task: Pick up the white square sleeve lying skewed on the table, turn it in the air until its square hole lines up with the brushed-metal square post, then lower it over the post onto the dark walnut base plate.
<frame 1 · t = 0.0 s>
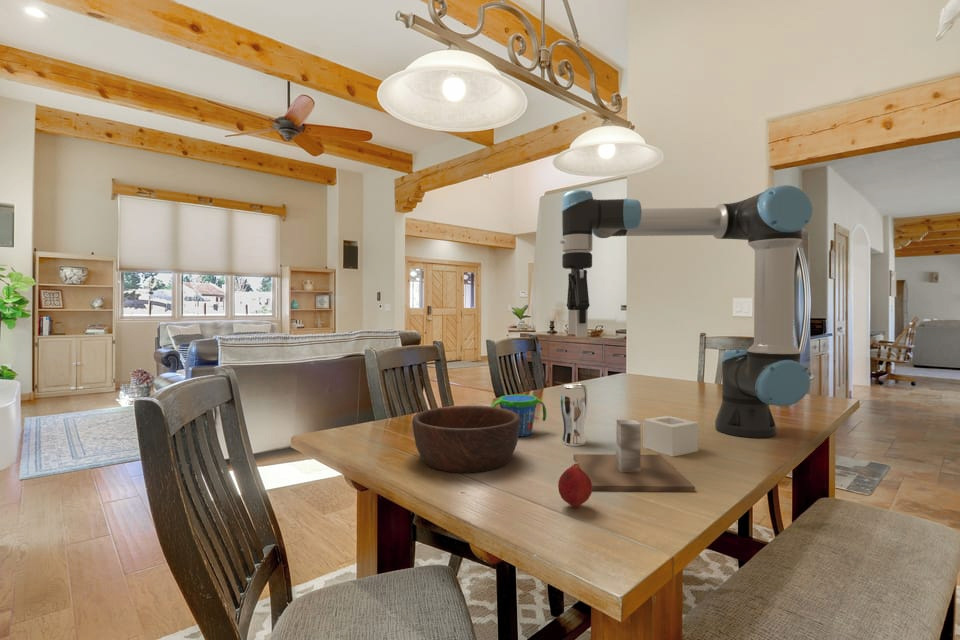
hand: (577, 335, 126), 28 cm above the table, fingers open, 13 cm apart
snack cup: (518, 434, 137), on the table
white square sleeve: (670, 449, 121), on the table
onion: (574, 508, 86), on the table
post base: (628, 473, 104), on the table
wooden bowl: (466, 460, 114), on the table
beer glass: (573, 443, 127), on the table
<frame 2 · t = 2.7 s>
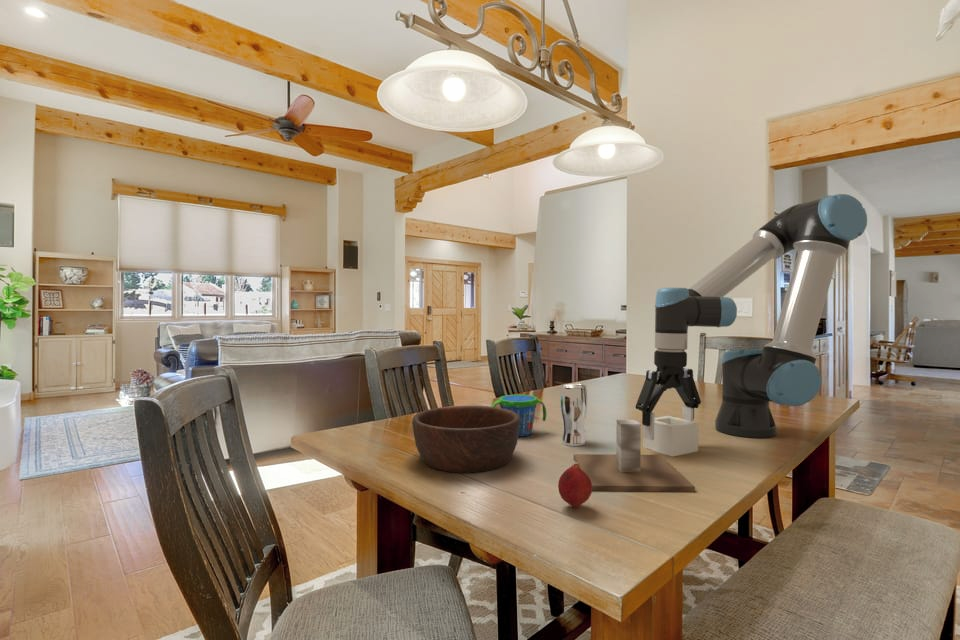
hand: (668, 436, 121), 3 cm above the table, fingers open, 13 cm apart
nothing on the table moved.
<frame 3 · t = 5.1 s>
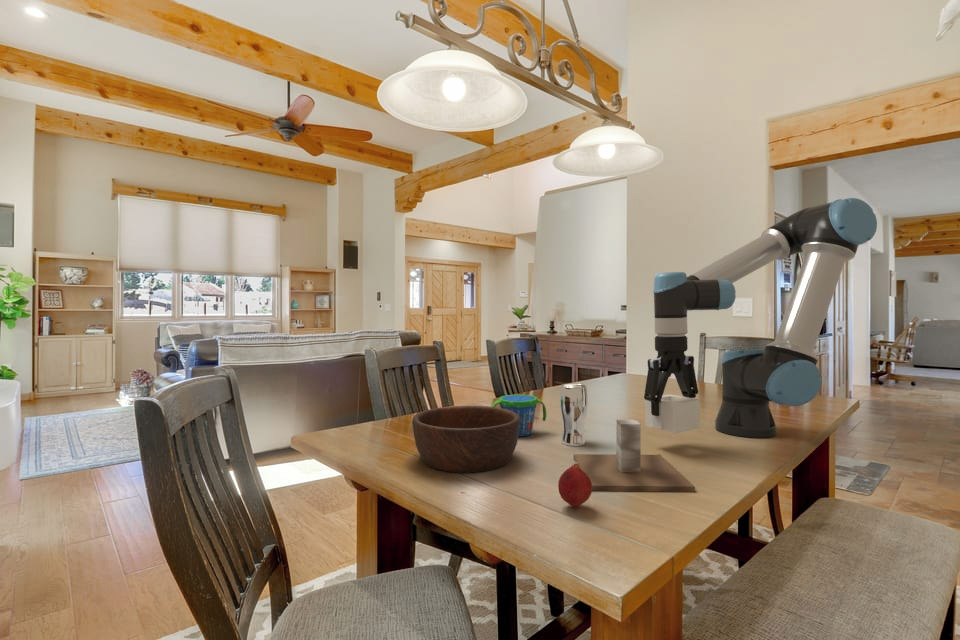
hand: (672, 425, 121), 6 cm above the table, fingers closed on white square sleeve, 9 cm apart
white square sleeve: (672, 426, 121), point 6 cm above the table, touching gripper
everything else where it was.
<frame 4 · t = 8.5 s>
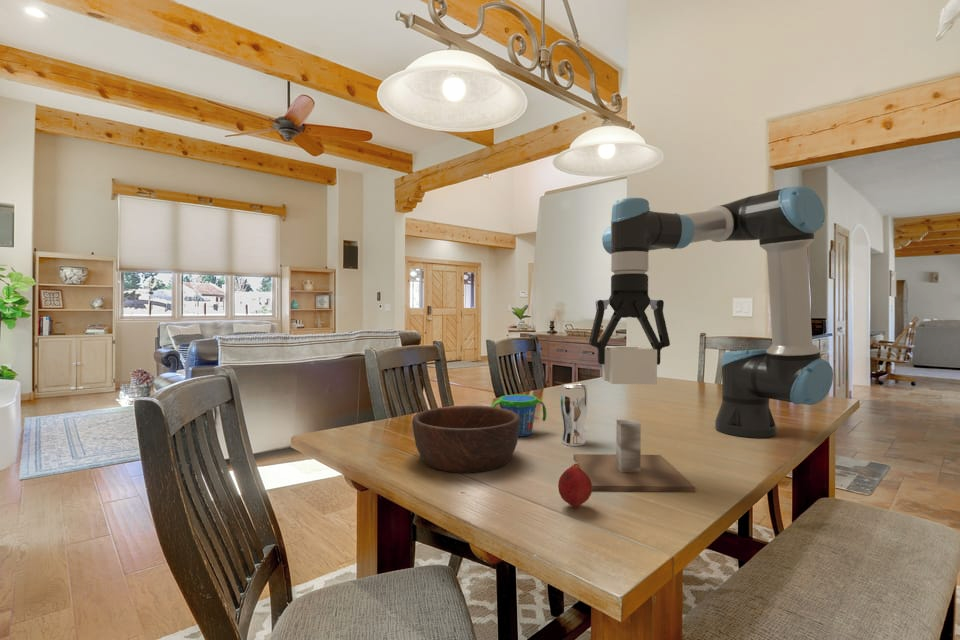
hand: (628, 379, 104), 20 cm above the table, fingers closed on white square sleeve, 9 cm apart
white square sleeve: (628, 380, 104), point 20 cm above the table, touching gripper
everything else where it was.
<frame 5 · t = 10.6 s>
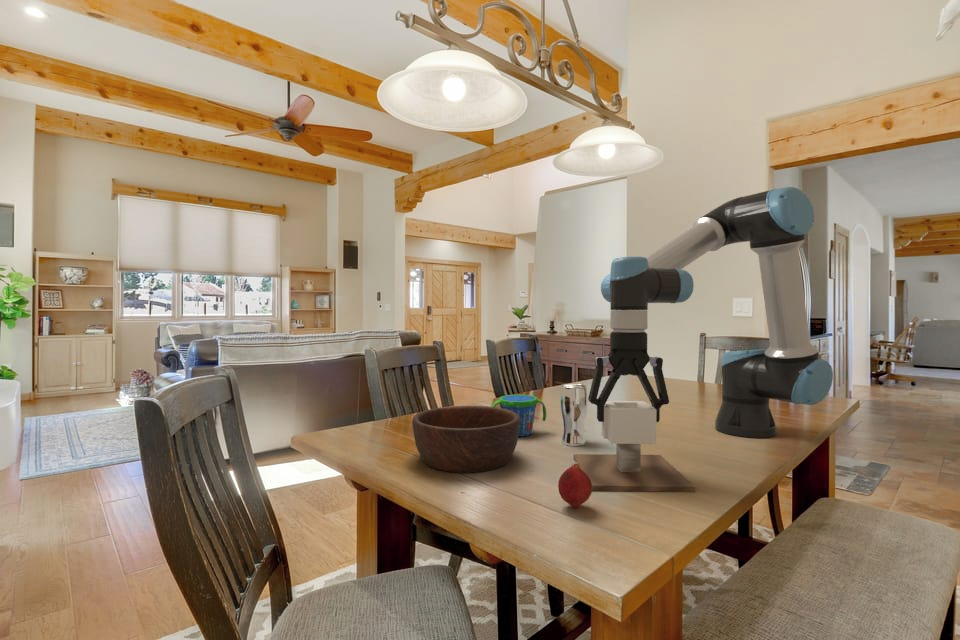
hand: (627, 436, 103), 8 cm above the table, fingers closed on white square sleeve, 9 cm apart
white square sleeve: (627, 437, 103), point 8 cm above the table, touching gripper
everything else where it was.
when the fingers open (2 cm above the table, at t = 12.2 s): white square sleeve drops 1 cm, resting on post base.
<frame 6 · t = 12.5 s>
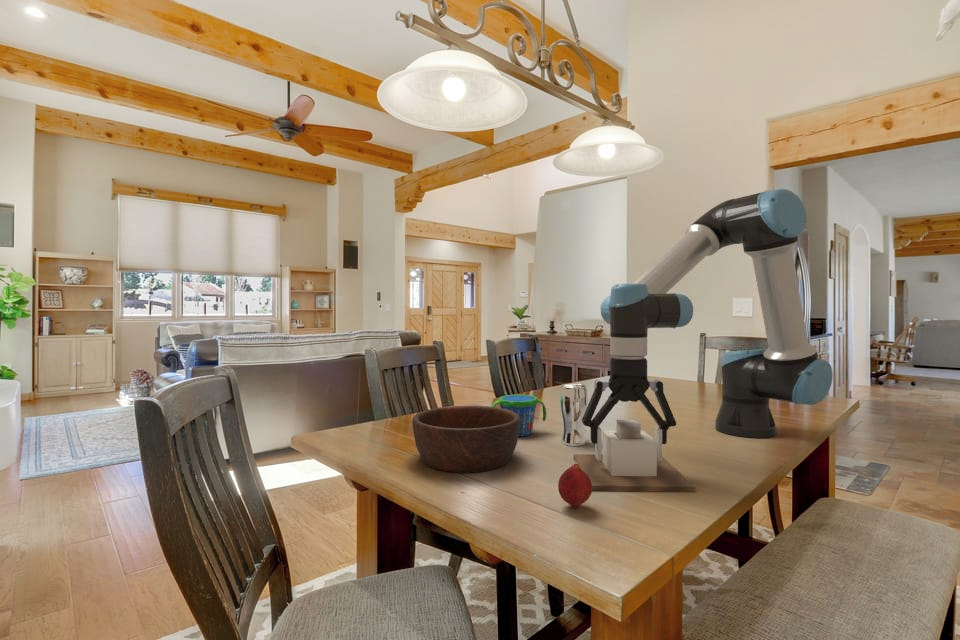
hand: (628, 458, 104), 3 cm above the table, fingers open, 12 cm apart
white square sleeve: (628, 468, 104), point 1 cm above the table, touching post base
everything else where it was.
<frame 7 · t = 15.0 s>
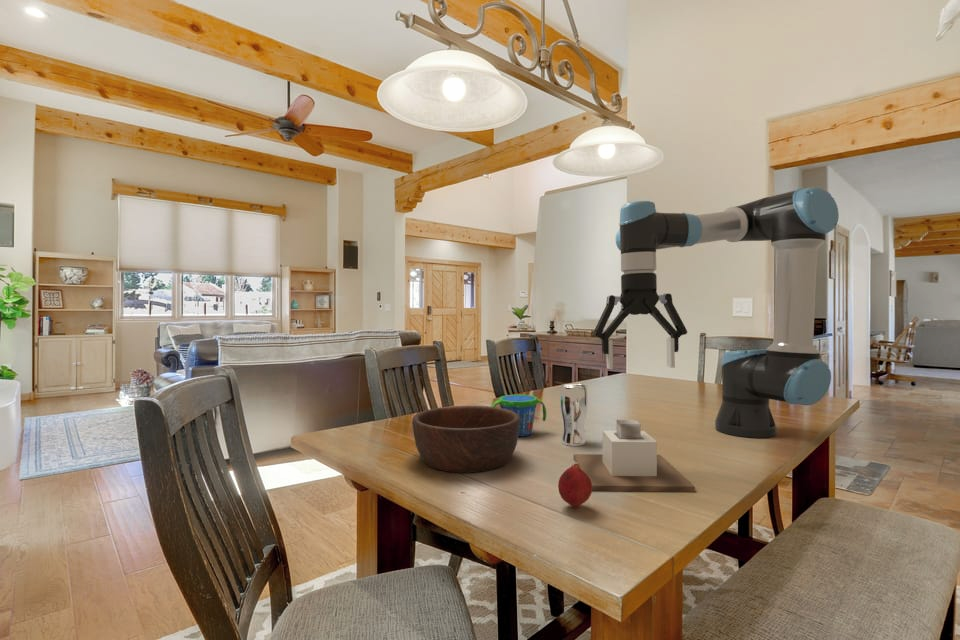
hand: (640, 367, 109), 22 cm above the table, fingers open, 13 cm apart
nothing on the table moved.
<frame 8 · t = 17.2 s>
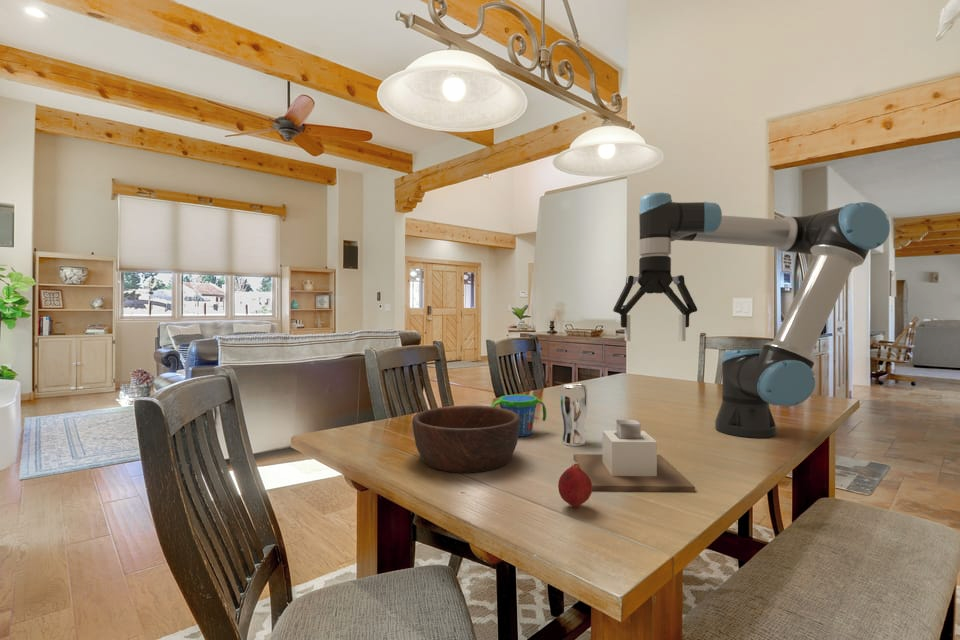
hand: (654, 340, 123), 27 cm above the table, fingers open, 13 cm apart
nothing on the table moved.
at the end: white square sleeve 0.1 cm off-centre on the post base, point 1.0 cm above the post base's base; white square sleeve tilted 0°; the gripper is holding nothing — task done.
